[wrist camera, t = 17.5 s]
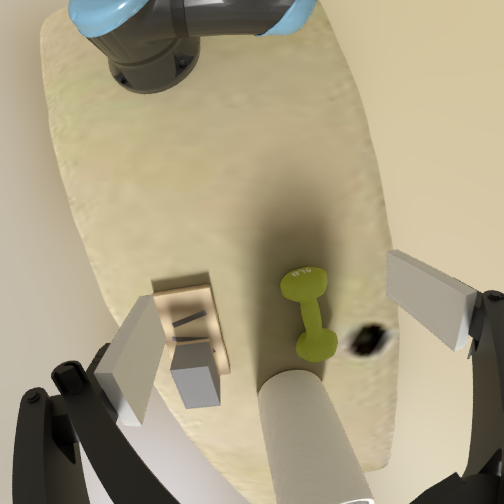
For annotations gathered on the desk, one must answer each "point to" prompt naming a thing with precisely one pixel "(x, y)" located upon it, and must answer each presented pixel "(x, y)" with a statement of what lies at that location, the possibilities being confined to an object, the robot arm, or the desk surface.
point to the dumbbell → (310, 312)
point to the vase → (308, 444)
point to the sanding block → (196, 374)
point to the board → (191, 320)
